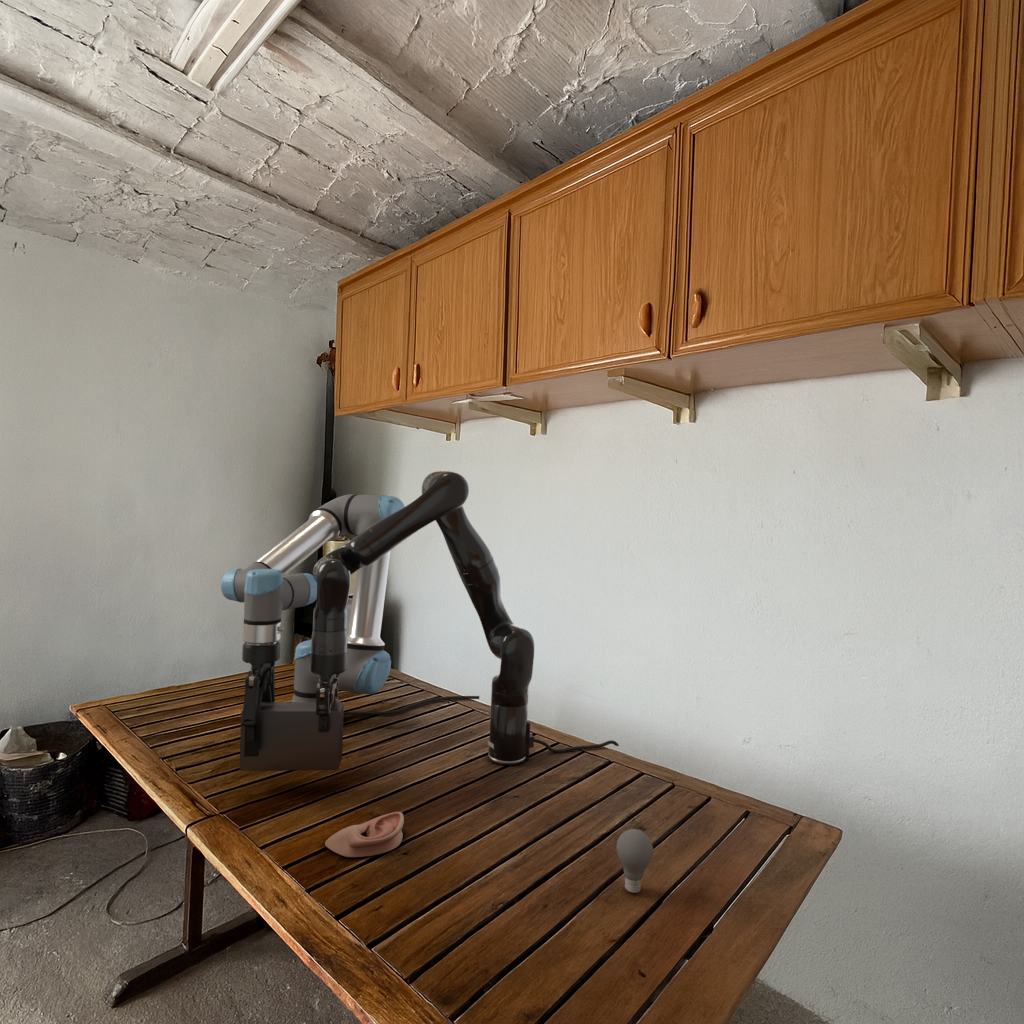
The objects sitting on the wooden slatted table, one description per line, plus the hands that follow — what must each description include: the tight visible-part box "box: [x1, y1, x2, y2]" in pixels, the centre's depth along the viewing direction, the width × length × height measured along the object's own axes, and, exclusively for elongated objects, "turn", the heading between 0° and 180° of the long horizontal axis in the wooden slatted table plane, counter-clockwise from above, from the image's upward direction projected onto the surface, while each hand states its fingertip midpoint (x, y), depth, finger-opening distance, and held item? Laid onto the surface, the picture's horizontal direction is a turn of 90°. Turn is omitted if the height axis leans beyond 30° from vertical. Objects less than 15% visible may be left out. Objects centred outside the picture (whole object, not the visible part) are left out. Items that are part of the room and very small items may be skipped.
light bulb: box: [615, 828, 654, 894], centre depth 106 cm, size 6×6×10 cm
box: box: [239, 701, 345, 772], centre depth 136 cm, size 20×6×13 cm, turn 96°
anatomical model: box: [324, 811, 405, 858], centre depth 117 cm, size 13×4×12 cm
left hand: (257, 746), depth 136 cm, fingers open, 9 cm apart
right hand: (326, 726), depth 137 cm, fingers closed on box, 6 cm apart
